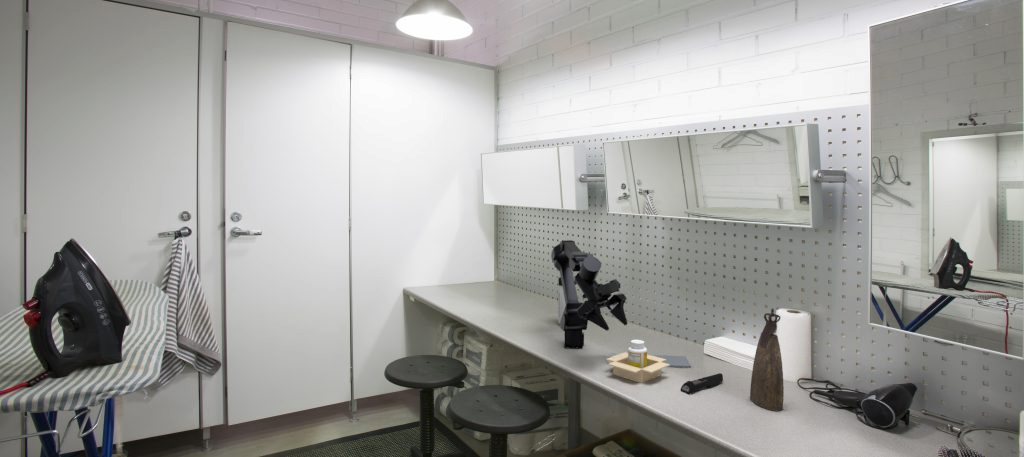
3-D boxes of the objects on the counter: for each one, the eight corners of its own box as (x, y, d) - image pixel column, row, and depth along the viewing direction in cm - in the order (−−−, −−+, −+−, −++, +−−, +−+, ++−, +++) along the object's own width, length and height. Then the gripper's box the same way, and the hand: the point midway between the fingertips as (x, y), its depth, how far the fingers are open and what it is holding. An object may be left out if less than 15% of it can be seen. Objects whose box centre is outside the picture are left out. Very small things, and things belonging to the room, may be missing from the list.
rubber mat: (658, 366, 166) (658, 364, 166) (654, 356, 175) (654, 355, 175) (691, 368, 164) (691, 366, 164) (685, 357, 174) (685, 356, 174)
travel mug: (575, 323, 221) (575, 275, 219) (571, 327, 214) (571, 278, 213) (560, 322, 223) (560, 275, 221) (556, 326, 216) (556, 277, 215)
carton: (599, 374, 159) (599, 361, 159) (631, 362, 170) (631, 350, 170) (644, 388, 147) (644, 374, 147) (675, 375, 158) (675, 361, 158)
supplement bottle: (642, 370, 162) (642, 338, 161) (650, 377, 156) (650, 343, 156) (625, 372, 161) (625, 339, 160) (632, 378, 155) (632, 344, 155)
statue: (788, 403, 137) (788, 308, 134) (780, 413, 131) (780, 315, 128) (753, 395, 142) (752, 304, 140) (744, 405, 136) (743, 310, 134)
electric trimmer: (726, 385, 151) (727, 374, 151) (690, 396, 143) (690, 384, 142) (715, 381, 154) (715, 370, 154) (679, 391, 146) (679, 380, 146)
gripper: (584, 275, 160) (613, 317, 152) (622, 268, 172) (650, 307, 165) (565, 297, 166) (592, 338, 159) (602, 289, 179) (629, 327, 171)
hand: (617, 327), depth 163 cm, fingers open, 9 cm apart
